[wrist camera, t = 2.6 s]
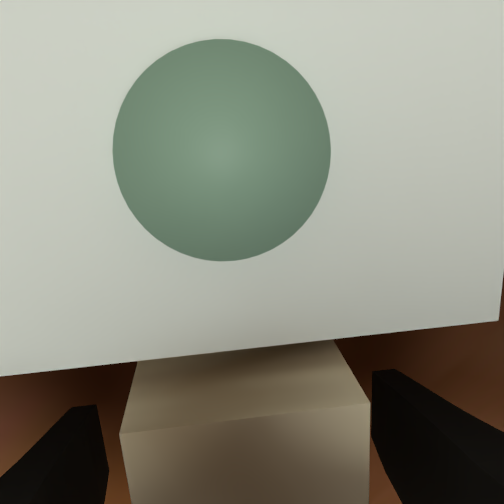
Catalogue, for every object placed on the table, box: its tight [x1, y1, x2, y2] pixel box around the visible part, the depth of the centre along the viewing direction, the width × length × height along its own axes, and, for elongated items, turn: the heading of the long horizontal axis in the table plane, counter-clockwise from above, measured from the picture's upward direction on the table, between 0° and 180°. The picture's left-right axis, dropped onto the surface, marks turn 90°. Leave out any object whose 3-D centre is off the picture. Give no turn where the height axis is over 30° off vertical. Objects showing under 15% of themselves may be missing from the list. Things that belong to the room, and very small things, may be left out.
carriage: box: [119, 339, 370, 504], centre depth 11 cm, size 4×6×6 cm, turn 4°
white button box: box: [0, 0, 504, 376], centre depth 9 cm, size 10×7×6 cm
